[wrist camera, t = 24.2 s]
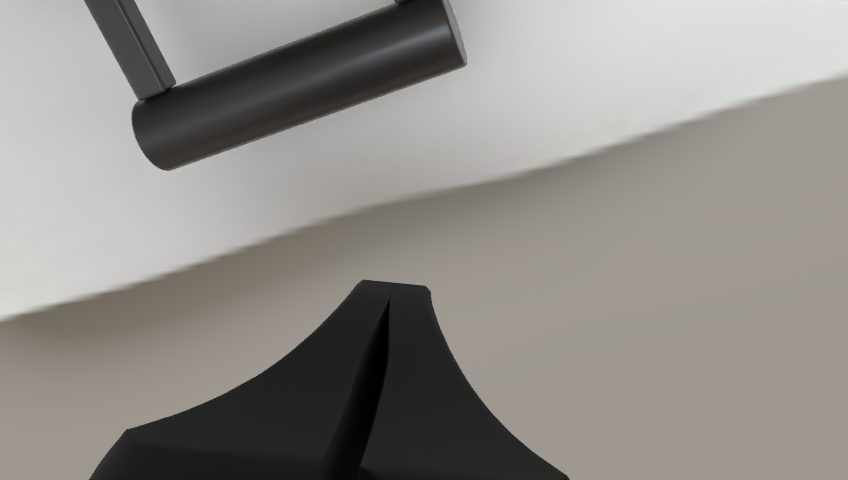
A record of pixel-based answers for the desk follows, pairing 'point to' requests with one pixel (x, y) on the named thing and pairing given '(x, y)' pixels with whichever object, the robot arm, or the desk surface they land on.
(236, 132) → the drawer
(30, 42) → the desk surface
